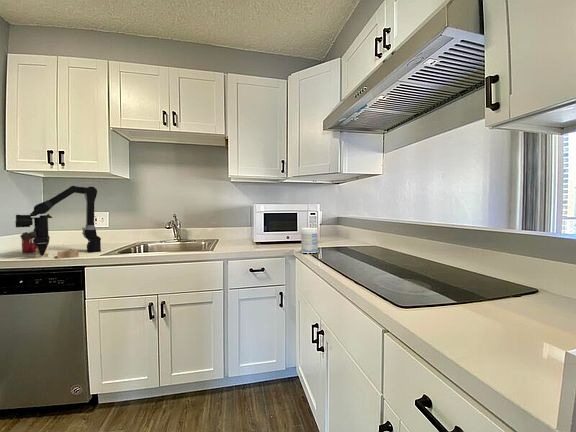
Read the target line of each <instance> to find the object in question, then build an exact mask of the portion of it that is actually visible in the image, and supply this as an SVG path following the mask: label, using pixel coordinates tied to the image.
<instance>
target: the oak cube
mask: <svg viewBox="0 0 576 432" xmlns="http://www.w3.org/2000/svg"><path fill="white" fill-rule="evenodd" d="M48 255H49V246H47V248H46V251H45V253H44V255H43V256H41V255H40V252H39V249H38V248H36V253H35V258H36V259H38V257H42V258H49V256H48Z"/></svg>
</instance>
